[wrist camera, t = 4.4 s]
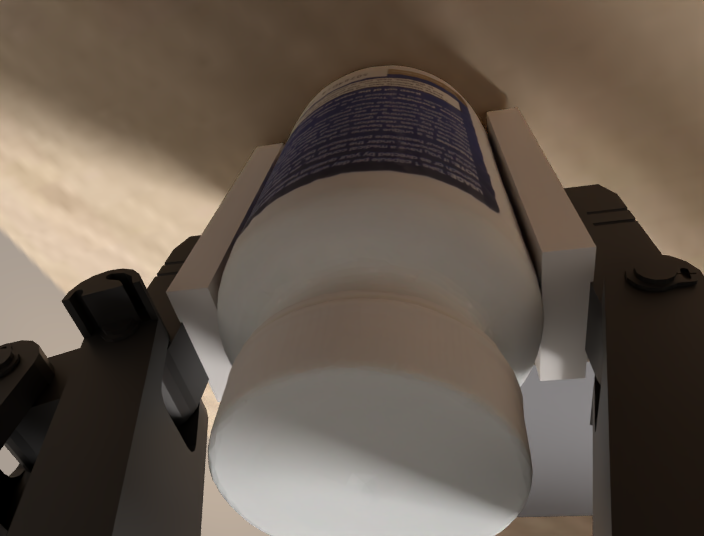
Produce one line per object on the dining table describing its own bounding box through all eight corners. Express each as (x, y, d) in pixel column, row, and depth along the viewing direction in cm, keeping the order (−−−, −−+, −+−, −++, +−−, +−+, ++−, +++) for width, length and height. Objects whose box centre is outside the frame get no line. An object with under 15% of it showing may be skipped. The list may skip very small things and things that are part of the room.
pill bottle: (250, 147, 14) (57, 447, 6) (406, 11, 12) (408, 214, 4) (373, 275, 17) (342, 620, 9) (526, 178, 14) (679, 526, 6)
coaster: (376, 364, 19) (375, 376, 18) (647, 344, 17) (654, 357, 17) (407, 506, 24) (407, 519, 23) (620, 501, 22) (625, 514, 22)
